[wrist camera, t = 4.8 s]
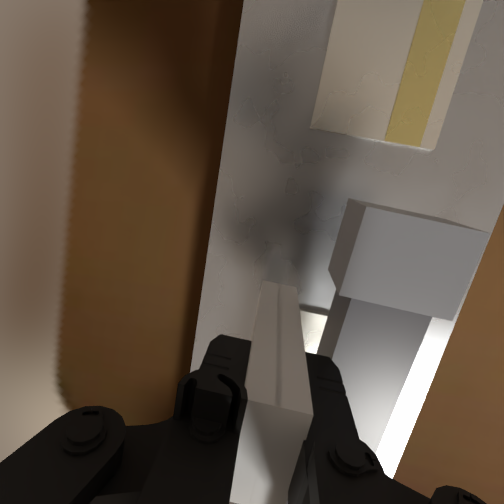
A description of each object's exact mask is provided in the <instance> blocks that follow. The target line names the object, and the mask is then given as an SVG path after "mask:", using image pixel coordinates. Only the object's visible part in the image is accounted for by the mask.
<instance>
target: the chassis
mask: <svg viewBox="0 0 504 504" xmlns="http://www.w3.org/2000/svg"><path fill="white" fill-rule="evenodd" d="M348 198H351V199H355V200H360V201H365V202H369V203H374V204H378V205H383V206H388V207H392V208H397V209H401V210H406V211H411V212H415V213H420V214H425V215H429V216H434V217H438V218H443V219H447V220H450V221H453V222H456V223H459V224H463V225H466V226H469V227H472V228H475V229H478V230H482V231H485V232H488V233H491V234H492V231H493V229H494V226H495V224H496V221H497V219H498V216H499V214H500V211H501V209H502V206H503V204H504V0H244V3H243V10H242V17H241V24H240V31H239V38H238V45H237V52H236V59H235V65H234V72H233V79H232V86H231V93H230V100H229V107H228V114H227V121H226V128H225V135H224V142H223V148H222V155H221V162H220V169H219V176H218V183H217V190H216V197H215V204H214V211H213V218H212V224H211V231H210V238H209V245H208V252H207V259H206V266H205V273H204V280H203V287H202V294H201V301H200V307H199V314H198V321H197V328H196V335H195V342H194V349H193V356H192V363H191V370H190V373H191V372H192V371H194V370H198V369H199V368H200V365H201V364H202V360H203V358H204V356H205V354H206V351H207V348H208V346H209V343H210V341H212V340H213V339H214V338H216V337H217V336H218V335H220V334H223V335H227V336H232V337H236V338H241V339H245V340H250V337H251V332H252V328H253V323H254V318H255V314H256V309H257V305H258V300H259V295H260V291H261V286H262V282H263V280H265V281H269V282H274V283H279V284H283V285H288V286H293V287H297V294H298V301H299V309H300V317H301V324H302V332H303V339H304V347H305V352H309V353H314V354H316V353H317V350H318V346H319V343H320V340H321V337H322V333H323V330H324V327H325V324H326V320H327V317H328V314H329V310H330V307H331V304H332V301H333V297H334V294H335V291H336V287H335V285H334V283H333V280H332V278H331V276H330V273H329V271H328V267H329V263H330V260H331V256H332V253H333V250H334V246H335V243H336V239H337V236H338V232H339V229H340V225H341V222H342V219H343V215H344V212H345V208H346V205H347V201H348ZM491 234H490V236H491ZM490 236H489V238H490ZM489 238H488V241H489ZM488 241H487V243H488ZM487 243H486V245H485V247H484V250H483V252H482V254H481V257H480V259H479V261H478V264H477V266H476V268H475V271H474V273H473V275H472V277H471V280H470V282H469V284H468V287H467V289H466V291H465V294H464V296H463V298H462V300H461V303H460V305H459V307H458V310H457V312H456V314H455V317H454V319H453V321H449V320H444V319H440V318H436V317H432V319H431V322H430V324H429V327H428V329H427V331H426V334H425V336H424V339H423V341H422V344H421V346H420V348H419V351H418V353H417V356H416V358H415V361H414V363H413V365H412V368H411V370H410V373H409V375H408V378H407V380H406V382H405V385H404V387H403V390H402V392H401V395H400V397H399V399H398V402H397V404H396V407H395V409H394V412H393V414H392V416H391V419H390V421H389V424H388V426H387V429H386V431H385V434H384V436H383V438H382V441H381V443H380V446H379V448H378V451H377V453H376V455H377V457H378V459H379V461H380V463H381V465H382V467H383V469H384V472H385V474H387V475H388V476H389V477H391V478H393V475H394V473H395V470H396V468H397V465H398V463H399V460H400V458H401V455H402V453H403V451H404V448H405V446H406V443H407V441H408V438H409V436H410V433H411V431H412V428H413V426H414V423H415V421H416V418H417V416H418V414H419V411H420V409H421V406H422V404H423V401H424V399H425V396H426V394H427V391H428V389H429V386H430V384H431V381H432V379H433V377H434V374H435V372H436V369H437V367H438V364H439V362H440V359H441V357H442V354H443V352H444V349H445V347H446V345H447V342H448V340H449V337H450V335H451V332H452V330H453V327H454V325H455V322H456V320H457V317H458V315H459V312H460V310H461V308H462V305H463V303H464V300H465V298H466V295H467V293H468V290H469V288H470V285H471V283H472V280H473V278H474V275H475V273H476V271H477V268H478V266H479V263H480V261H481V258H482V256H483V253H484V251H485V248H486V246H487ZM229 504H237V503H233V502H229Z"/></svg>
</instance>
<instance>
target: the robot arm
mask: <svg viewBox="0 0 504 504" xmlns="http://www.w3.org/2000/svg"><path fill="white" fill-rule="evenodd" d="M287 500H288V504H486V503H485V502H484V501H482V500H481V499H480V498H478V497H477V496H475V495H473V494H471V493H469V492H467V491H465V490H463V489H461V488H458V487H453V486H447V485H446V486H442V487H439V488H436V490H435V492H434V494H433V496H432V497H431V499H430V498H428V497H426V496H424V495H422V494H420V493H418V492H416V491H414V490H412V489H410V488H409V487H407V486H405V485H403V484H401V483H399V482H397V481H396V480H394V479H393V478H391V477H389V476H388V475H387V474H385V472H384V469H383V467H382V465H381V463H380V461H379V459H378V457H377V455H376V454H375V453H374V452H373V451H372V450H371V449H370V447H369V446H368V445H367V444H366V443H364V442H363V441H361V440H360V439H359V435H358V432H357V428H356V425H355V421H354V418H353V415H352V411H351V408H350V404H349V401H348V397H347V396H346V390H345V387H344V385H343V380H342V377H341V373H340V370H339V368H338V367H337V366H336V364H335V363H334V362H333V361H332V360H331V358H330V357H327V356H323V355H318V354H314V353H309V352H305V347H304V339H303V332H302V324H301V317H300V309H299V301H298V294H297V287H293V286H288V285H283V284H279V283H274V282H269V281H265V280H263V282H262V286H261V291H260V295H259V300H258V305H257V309H256V314H255V318H254V323H253V328H252V332H251V337H250V340H245V339H241V338H236V337H232V336H227V335H223V334H220V335H218V336H217V337H216V338H214V339H213V340H212V341H210V343H209V346H208V348H207V351H206V354H205V356H204V358H203V360H202V364H201V365H200V368H199V369H198V370H194V371H192V372H191V373H189V374H187V375H185V376H184V377H183V378H182V380H181V381H180V382H179V383H178V388H177V395H176V401H175V408H174V415H173V416H172V417H171V418H169V419H168V420H165V421H162V422H159V423H156V424H150V425H138V426H125V423H124V420H123V418H122V416H121V415H119V414H118V413H117V412H116V411H115V410H113V409H110V408H106V407H103V406H85V407H82V408H79V409H75V410H72V411H69V412H68V413H66V414H64V415H63V416H61V417H59V418H57V419H56V420H54V421H53V422H52V423H51V424H49V425H48V426H47V427H45V428H44V429H43V430H42V431H40V432H39V433H38V434H36V435H35V436H34V437H33V438H31V439H30V440H29V441H27V442H26V443H25V444H24V445H22V446H21V447H20V448H18V449H17V450H16V451H15V452H13V453H12V454H11V455H10V456H8V457H7V458H6V459H4V460H3V461H2V462H1V463H0V504H229V502H233V503H237V504H286V503H287Z"/></svg>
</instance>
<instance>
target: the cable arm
mask: <svg viewBox="0 0 504 504" xmlns="http://www.w3.org/2000/svg"><path fill="white" fill-rule="evenodd" d="M490 234H491V233H488V232H485V231H482V230H478V229H475V228H472V227H469V226H466V225H463V224H459V223H456V222H453V221H450V220H447V219H443V218H438V217H434V216H429V215H425V214H420V213H415V212H411V211H406V210H401V209H397V208H392V207H388V206H383V205H378V204H374V203H369V202H365V201H360V200H355V199H351V198H348V201H347V205H346V208H345V212H344V215H343V219H342V222H341V225H340V229H339V232H338V236H337V239H336V243H335V246H334V250H333V253H332V256H331V260H330V263H329V267H328V271H329V273H330V276H331V278H332V280H333V283H334V285H335V287H336V291H335V294H334V297H333V301H332V304H331V307H330V310H329V314H328V317H327V320H326V324H325V327H324V330H323V333H322V337H321V340H320V343H319V346H318V350H317V353H316V354H318V355H323V356H327V357H330V358H331V360H332V361H333V362H334V363H335V364H336V366H337V367H338V368H339V370H340V373H341V377H342V380H343V385H344V387H345V390H346V396H347V397H348V401H349V404H350V408H351V411H352V415H353V418H354V421H355V425H356V428H357V432H358V435H359V439H360V440H361V441H363V442H364V443H366V444H367V445H368V446H369V447H370V449H371V450H372V451H373V452H374V453H375V454H376V453H377V451H378V448H379V446H380V443H381V441H382V438H383V436H384V434H385V431H386V429H387V426H388V424H389V421H390V419H391V416H392V414H393V412H394V409H395V407H396V404H397V402H398V399H399V397H400V395H401V392H402V390H403V387H404V385H405V382H406V380H407V378H408V375H409V373H410V370H411V368H412V365H413V363H414V361H415V358H416V356H417V353H418V351H419V348H420V346H421V344H422V341H423V339H424V336H425V334H426V331H427V329H428V327H429V324H430V322H431V319H432V317H436V318H440V319H444V320H449V321H453V319H454V317H455V314H456V312H457V310H458V307H459V305H460V303H461V300H462V298H463V296H464V294H465V291H466V289H467V287H468V284H469V282H470V280H471V277H472V275H473V273H474V271H475V268H476V266H477V264H478V261H479V259H480V257H481V254H482V252H483V250H484V247H485V245H486V243H487V241H488V238H489V236H490ZM286 504H288V500H287V503H286Z"/></svg>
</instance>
